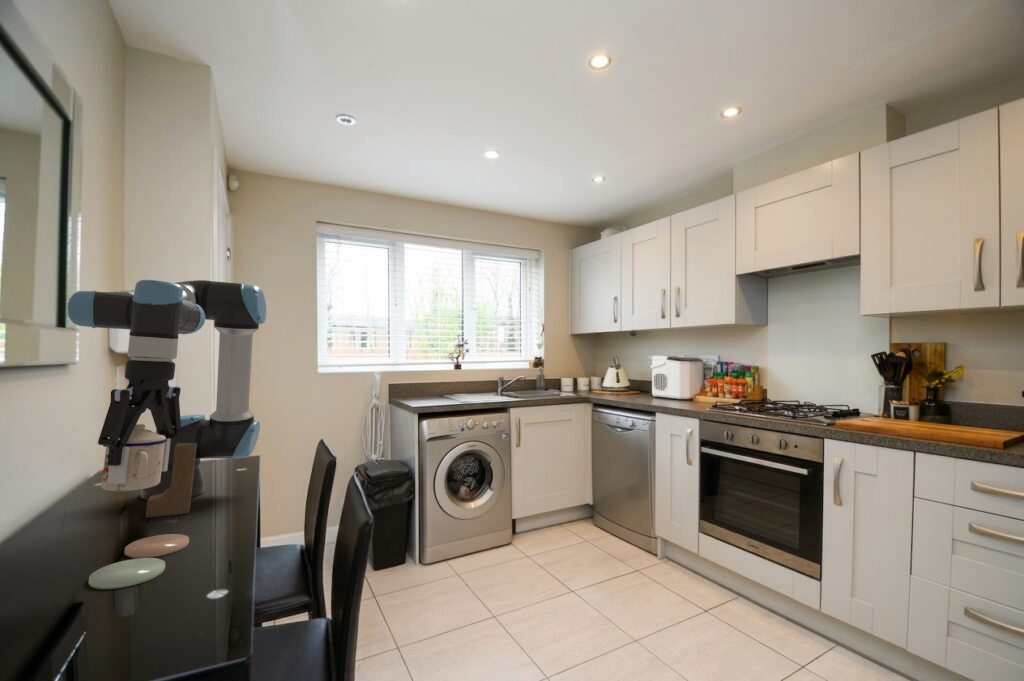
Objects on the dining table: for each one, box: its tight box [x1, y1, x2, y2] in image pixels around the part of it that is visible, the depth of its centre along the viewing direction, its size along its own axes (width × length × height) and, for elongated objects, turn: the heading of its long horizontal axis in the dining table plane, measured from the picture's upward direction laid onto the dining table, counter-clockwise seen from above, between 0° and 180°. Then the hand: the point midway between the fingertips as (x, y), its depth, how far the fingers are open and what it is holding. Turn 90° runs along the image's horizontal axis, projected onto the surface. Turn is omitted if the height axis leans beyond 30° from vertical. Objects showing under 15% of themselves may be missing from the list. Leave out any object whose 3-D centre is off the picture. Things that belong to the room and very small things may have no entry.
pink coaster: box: [124, 533, 190, 559], centre depth 96 cm, size 11×11×1 cm
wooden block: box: [145, 443, 197, 519], centre depth 117 cm, size 9×4×18 cm, turn 122°
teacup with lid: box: [100, 423, 166, 492], centre depth 84 cm, size 12×9×12 cm
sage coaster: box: [88, 557, 166, 590], centre depth 84 cm, size 11×11×1 cm
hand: (139, 476), depth 85 cm, fingers closed on teacup with lid, 9 cm apart
